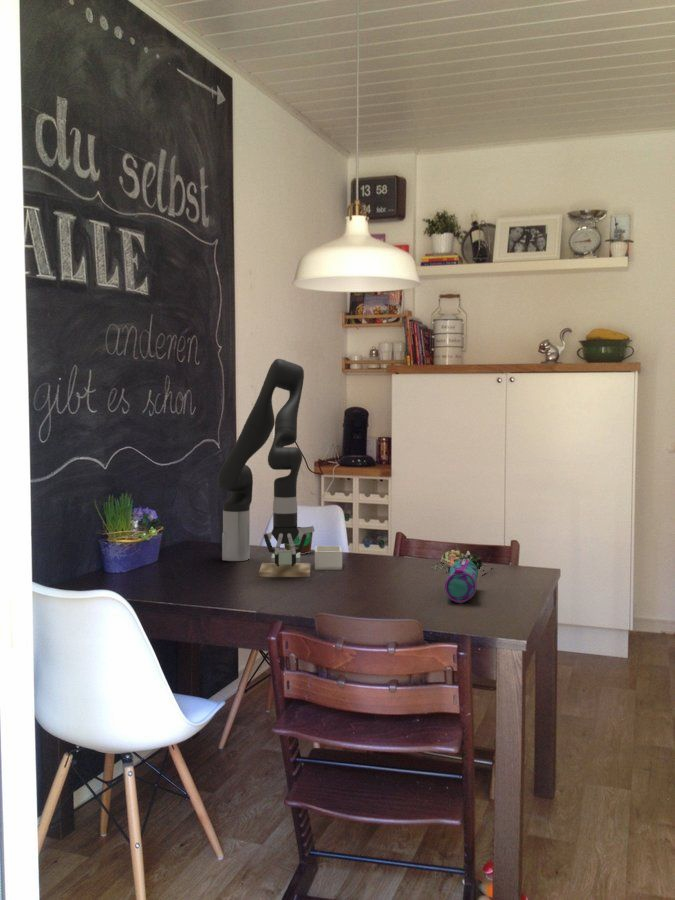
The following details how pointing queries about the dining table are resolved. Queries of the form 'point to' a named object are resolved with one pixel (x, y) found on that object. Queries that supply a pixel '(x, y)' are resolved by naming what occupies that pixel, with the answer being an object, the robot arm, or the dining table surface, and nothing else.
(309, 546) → the food container
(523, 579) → the dining table surface
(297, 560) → the pale grey block
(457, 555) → the floral arrangement
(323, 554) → the tub
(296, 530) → the robot arm
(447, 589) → the pencil case
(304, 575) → the board
